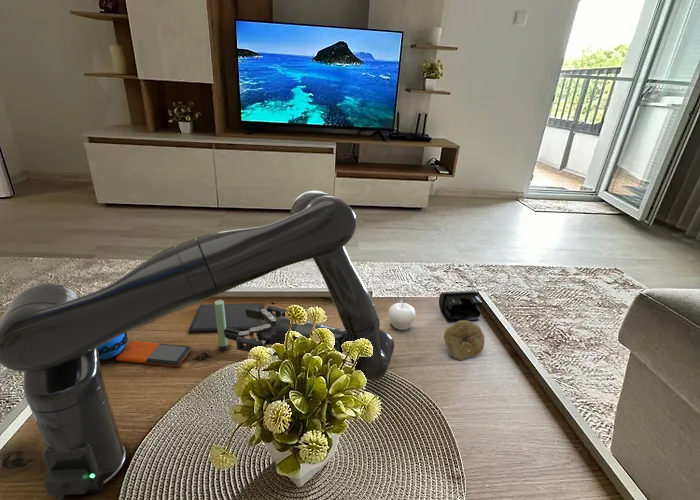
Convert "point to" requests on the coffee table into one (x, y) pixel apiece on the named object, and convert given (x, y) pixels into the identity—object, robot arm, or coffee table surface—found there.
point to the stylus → (221, 324)
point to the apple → (401, 315)
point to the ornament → (112, 347)
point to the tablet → (233, 317)
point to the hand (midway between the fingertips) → (236, 321)
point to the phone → (154, 353)
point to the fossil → (464, 340)
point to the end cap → (460, 306)
